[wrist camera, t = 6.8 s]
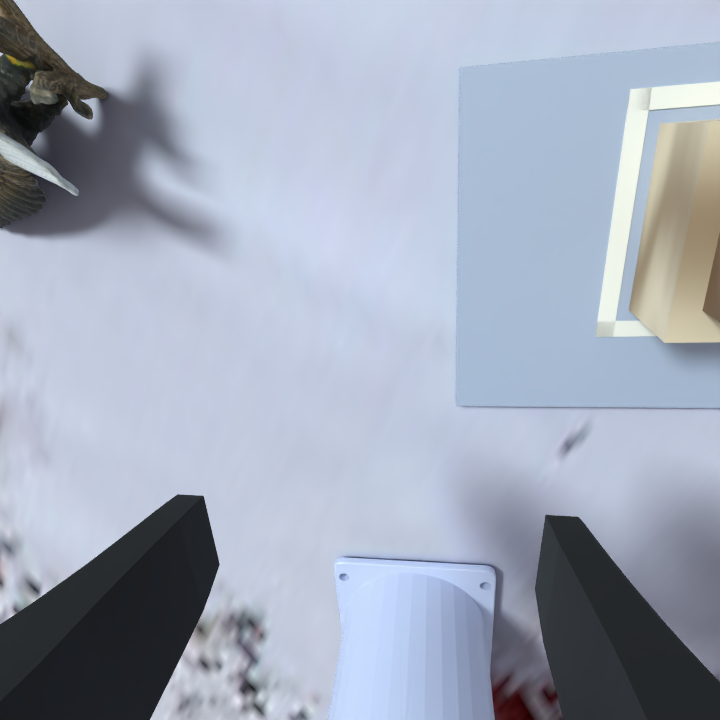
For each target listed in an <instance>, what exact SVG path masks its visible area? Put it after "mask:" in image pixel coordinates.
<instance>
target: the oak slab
mask: <svg viewBox="0 0 720 720" xmlns="http://www.w3.org/2000/svg"><path fill="white" fill-rule="evenodd" d="M719 233H720V119H713V120H699V121H686V122H673V123H660V126H659V132H658V138H657V144H656V150H655V156H654V162H653V168H652V174H651V180H650V186H649V192H648V198H647V204H646V210H645V216H644V222H643V228H642V234H641V240H640V246H639V252H638V258H637V264H636V270H635V276H634V281H633V287H632V293H631V299H630V305H629V311H630V312H631V313H632V314H634V315H635V316H636V317H637V318H638V319H639V320H640V321H641V322H642V323H643V324H644V325H646V326H647V327H648V328H649V329H650V330H651V331H652V332H653V333H654V334H655V335H656V336H658V337H659V338H660V339H661V340H662V341H663V342H664V343H701V342H720V322H719V321H717V320H716V319H714V318H713V317H711V316H710V315H708V314H707V313H705V312H704V311H702V310H703V306H704V301H705V297H706V292H707V288H708V283H709V278H710V274H711V269H712V265H713V260H714V256H715V251H716V247H717V242H718V237H719Z"/></svg>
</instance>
